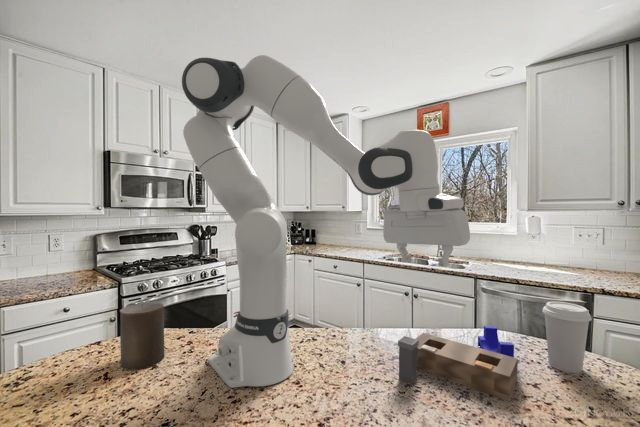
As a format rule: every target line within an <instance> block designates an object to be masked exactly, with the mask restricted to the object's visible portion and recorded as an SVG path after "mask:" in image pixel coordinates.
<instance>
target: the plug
mask: <svg viewBox="0 0 640 427" xmlns="http://www.w3.org/2000/svg"><path fill="white" fill-rule="evenodd" d="M418 345H419V340H417V339H416V338H413V337H409V336H406V335H404V336H402V337H401V338H400V339H398V340H397V347H398V381H401V382H402V383H406V384H409V385H411V386H412V385H413V384H414V383H415V382H416V381H417V380H418V369H417V346H418Z"/></svg>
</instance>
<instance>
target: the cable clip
mask: <svg viewBox="0 0 640 427" xmlns="http://www.w3.org/2000/svg"><path fill="white" fill-rule="evenodd" d="M498 336H499V334H498V327H497V326H493V325H483V335H478V336H477V347H478V346H480V348H481V349H485V350H488V351H492V352H496V353H499V354H503V355H507V356H510V357H514V358H515V344H513V342H508V341H500V340H499V337H498Z"/></svg>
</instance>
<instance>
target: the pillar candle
mask: <svg viewBox="0 0 640 427" xmlns="http://www.w3.org/2000/svg"><path fill="white" fill-rule="evenodd" d="M164 307H165V306H164V303H163V302H159V301H147V302H146V301H145V302H144V301H143V302H139V303H135V304H130V305H126V306H124V307H122V308H121V309H119V313H120V317H119V318H120V340H119V342H120V347H119V348H120V367H121V368H122V369H124V370H130V371H131V370H143V369H147V368H150V367H152V366H155V365H157V364H158V363H160V362H162V361H163V359H164V358H165V317H164V316H165V314H164V313H165V308H164Z"/></svg>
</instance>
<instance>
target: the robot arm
mask: <svg viewBox="0 0 640 427" xmlns="http://www.w3.org/2000/svg"><path fill="white" fill-rule="evenodd" d="M181 86H182V90H183V92H184V95H185V96H186V98H187V100H188V101H189V102H190V103H191V104H192V105H193V106H194V107H195V108H197V109H198V112H197V113H196V115H195V116H193V117H191V118H190V119H189V120H188V121H187V122H186V123H185V125H184V127H183V130H182V131H183V132H182V135H183V138H184V140H185V143H186V146H187V149H188V151H189V154H190V155H191V158H192V160H193V162H194V163H195V165H196V167H197V169H198V171H199V173H200V175H202V178H203V179H204V180H205V182H206V184H207V186H208V187H209V189H210V191H211V192H212V194H213V196H214V197H215V199H216V201H217V202H218V203H219V204H220V205H221V206H222V207H223V209H224V210H225V211H226V212H227V213H228V215H229V217H230V218H231V219H232V220H233V221H234V223H235V224H236V225H235V231H234V237H235V250H236V262H237V269H238V275H239V276H238V277H239V310H238V311H236V312H233V315H234V314H235V315H234V316H233V318H236V319H235V323H234V325H233V327H232V328H230V329H229V330H228V331H226V332H225V333H224V334H223V335H222V336H220V338H219V340H218V346H217V347H218V348H217V349H218V350H217V351H216V352H214V353H213V354H211V355H210V356H209V357H208V358H207V359H208V360H207V361H208V364H209V365H210V367H211V368H212V369H213V370H214V371H215V373H217V375H218V376H219V377H220V379H221V380H223V382H224V383H225V385H227V386H228V388H232V389H233V388H241V387H266V386H271V385H275V384H279V383H281V382H282V381H284V380H286V379H287V378H289V377H290V376H291V375H292V373H293V371H294V363H293V359H294V353H293V352H292V349H291V337H290V329H289V320H290V314H289V310H288V308H287V307H288V306H287V305H288V304H287V302H288V301H287V300H288V286H287V282H288V280H287V278H288V275H287V274H288V273H287V270H288V269H287V234H288V225H287V221H286V218H285V217H284V215H283V214H282V212H281V210H280V208H279V207H278V206H277V204H276V202H275V200H274V199H273V198H272V195H271V194H270V193H269V191H268V189H267V188H266V186H265V185H264V183H263V181H262V179H261V178H260V177H259V175H258V173H257V171H256V170H255V168H254V167H253V165H252V163H251V162H250V159H249V158H248V156H247V155H246V153H245V151H244V150H243V147H242V146H241V144H240V143H239V141H238V139H237V138H236V136H235V134H234V131H235V130H238V129H239V127H241V125H242V124H243V123H244V122H245V121H246V120H247V119H248V118H249V117H250V116H251V115H252V113H253V112H254V108H255V107H256V108H258V109H260V110H261V111H263V112H264V113H266V114H267V116H269V117H270V118H271V119H273V120H274V121H275V122H277V124H279V125H281V126H282V127H284V128H286V129H287V130H288V131H290V132H291V133H294V135H297V136H298V137H300V138H302V139H304V140H305V141H307V142H308V143H311V144H312V145H314V146H315V147H317V149H319V150H320V151H321V152H323V154H325V155H326V156H328V158H330V159H331V160H332V161H334V162H335V164H337V165H338V166H339V167H341V168H342V169H343V170H344V171H345V172H346V173H347V175H348V177H349V179H350V180H351V183H352V184H353V186H354V188H355V189H357V191H358V192H360V193H361V194H363V195H365V196H377V195H379V194H382V193H384V192H385V191H387V190H390V189H391V188H397V190H398V200H399V204H394V205H393V204H389V205H388V206H387V207H386V208H385V210H384V211H383V216H384V217H383V218H384V219H383V229H382V230H383V231H382V232H383V240H384V241H385V243H387V244H396V249H397V250H398V252H399V254H400V255H401V261H402V263H406V264H407V263H411V262H413V259H412V254H410V253H409V252H408V250H407V249H406V248H407V247H408V245H428V246H441V251H443V253H442V255H441V256H440V257H438V258H437V262H438V263H437V264H438V267H448V266H450V257H451V254H452V252H453V251H454V247H461V246H464V245H467V244H469V242H470V241H471V230H470V224H469V223H470V222H469V220H468V215H467V213H466V211H464V210H463V209H462V208H463V207H464V205H465V204H464V198H462V197H459V196H453V195H450V194H445V193H443V192H441V190H440V185H439V184H440V183H439V181H438V170H439V164H438V155H437V148H436V144H435V140H434V138H433V136H432V135H431V133H429V132H428V131H425V130H422V129H404V130H402V131H399V132H398V133H397V134H396V135H395V136H394V137H393V138H391V139H389V140H387V141H386V142H385V143H382V144H380V145H378V146H376V147H372V148H371V149H368V150H366V152H364V151H362V150H361V149H359V148H358V146H356V145H355V144H354V143H353V142H351V141H350V140H349V138H347V137H346V136H345V135H343V134H342V133H341V132H340V131H339V130H338V128H336V126H335V124H334V123H333V120H332V119H331V116H330V114H329V111H328V108H327V106H326V102H325V100H324V97H322V95H320V93H319V91H318V90H316V88H315V87H314V86H313V85H312V84H311V83H310V82H308V81H307V80H306V79H305V78H303V77H302V76H301V75H300V74H298V72H296V71H294V70H293V69H291V68H290V67H288V66H287V65H285V64H284V63H282V62H280V61H278V60H276V59H275V58H273V57H271V56H268V55H265V54H262V55H261V54H260V55H257V56H255V57H252V58H251V59H250V60H249V61H248V62H247V63H246V65H245V66H243V67H242V68H240V66H239V65H238V63H236V62H235V61H232V60H231V61H228V60H222V59H217V58H212V57H198V58H195V59H193V60H191V61H190V62H189V63H187V65H186V67H185V68H184V70H183V72H182V76H181Z"/></svg>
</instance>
